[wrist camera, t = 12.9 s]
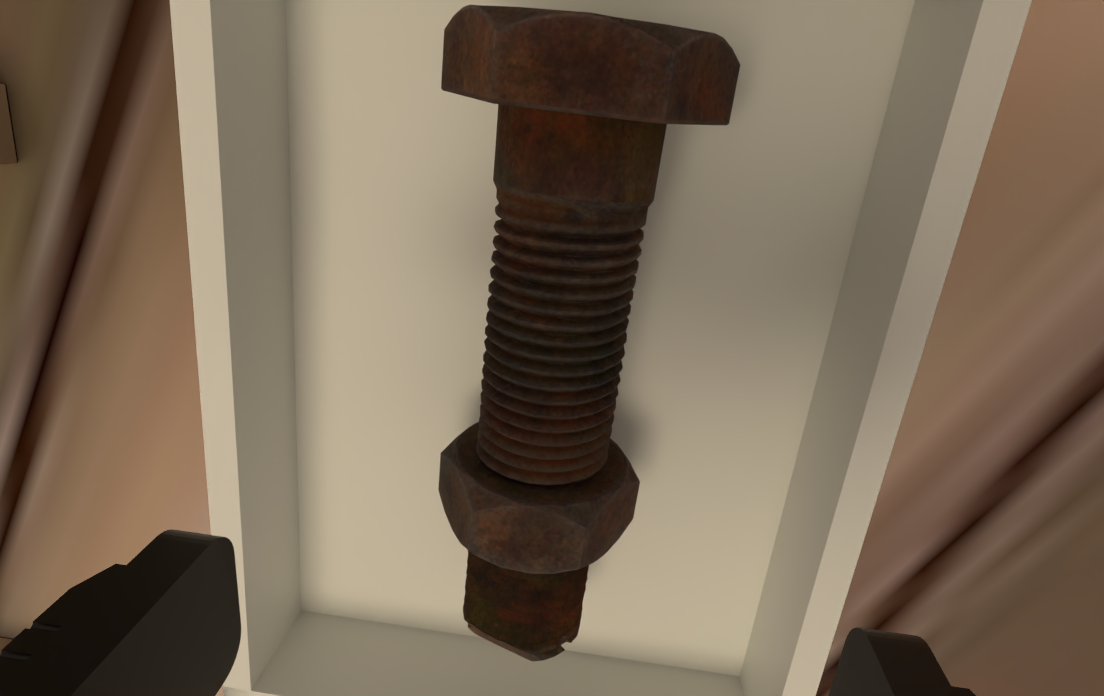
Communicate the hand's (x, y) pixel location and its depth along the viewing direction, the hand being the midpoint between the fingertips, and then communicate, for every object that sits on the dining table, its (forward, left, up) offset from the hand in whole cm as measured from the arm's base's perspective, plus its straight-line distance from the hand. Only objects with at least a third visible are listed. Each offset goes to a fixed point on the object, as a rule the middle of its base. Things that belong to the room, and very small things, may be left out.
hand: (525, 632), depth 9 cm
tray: (+1, 0, -11) cm, 11 cm away
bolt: (+1, 0, -10) cm, 10 cm away
